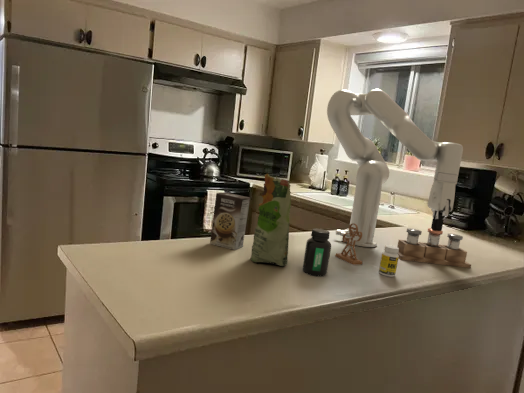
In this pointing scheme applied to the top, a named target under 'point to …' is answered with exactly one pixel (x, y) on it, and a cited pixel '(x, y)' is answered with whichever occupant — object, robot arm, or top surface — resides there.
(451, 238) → the plug
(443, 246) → the socket board
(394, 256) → the supplement bottle
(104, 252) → the top surface
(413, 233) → the plug
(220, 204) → the coffee box
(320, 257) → the supplement bottle
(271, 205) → the pouch
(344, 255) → the tan toy soldier
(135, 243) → the top surface
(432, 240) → the plug mid
